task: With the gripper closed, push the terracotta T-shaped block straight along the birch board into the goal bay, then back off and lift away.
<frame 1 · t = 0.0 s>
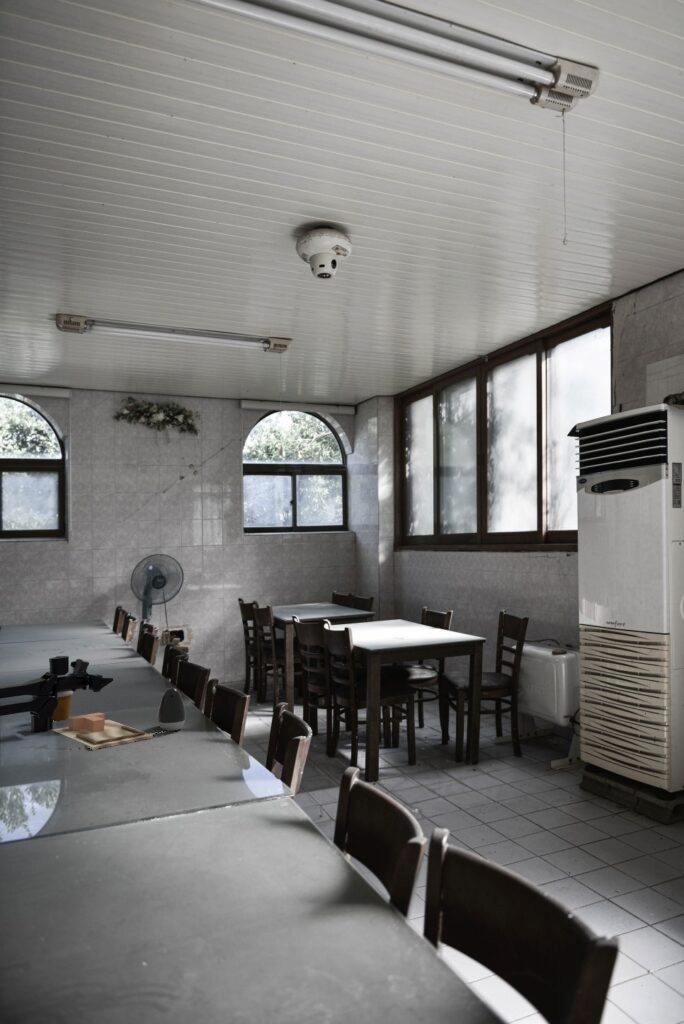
hand: (107, 678, 282), 17 cm above the table, tool horizontal, fingers open, 9 cm apart
t block: (91, 728, 265), point 1 cm above the table, touching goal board
grey egg-shaped pod: (171, 730, 267), on the table
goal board: (101, 735, 260), on the table
disposable coffee cup: (59, 721, 284), on the table
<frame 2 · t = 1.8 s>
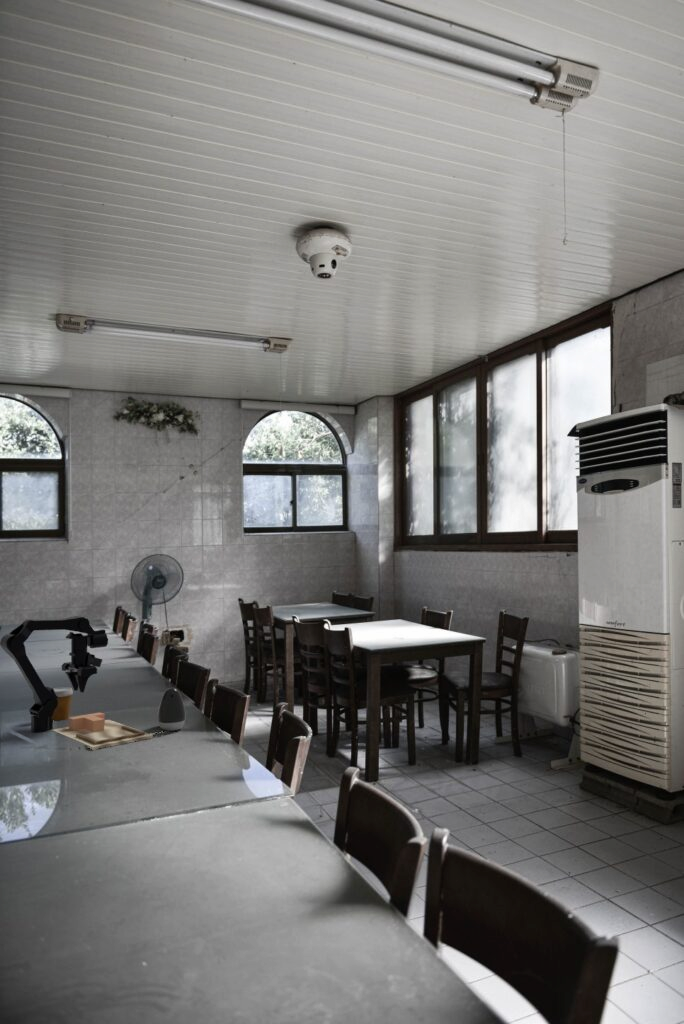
hand: (79, 691, 274), 13 cm above the table, tool pointing down, fingers open, 5 cm apart
nothing on the table moved.
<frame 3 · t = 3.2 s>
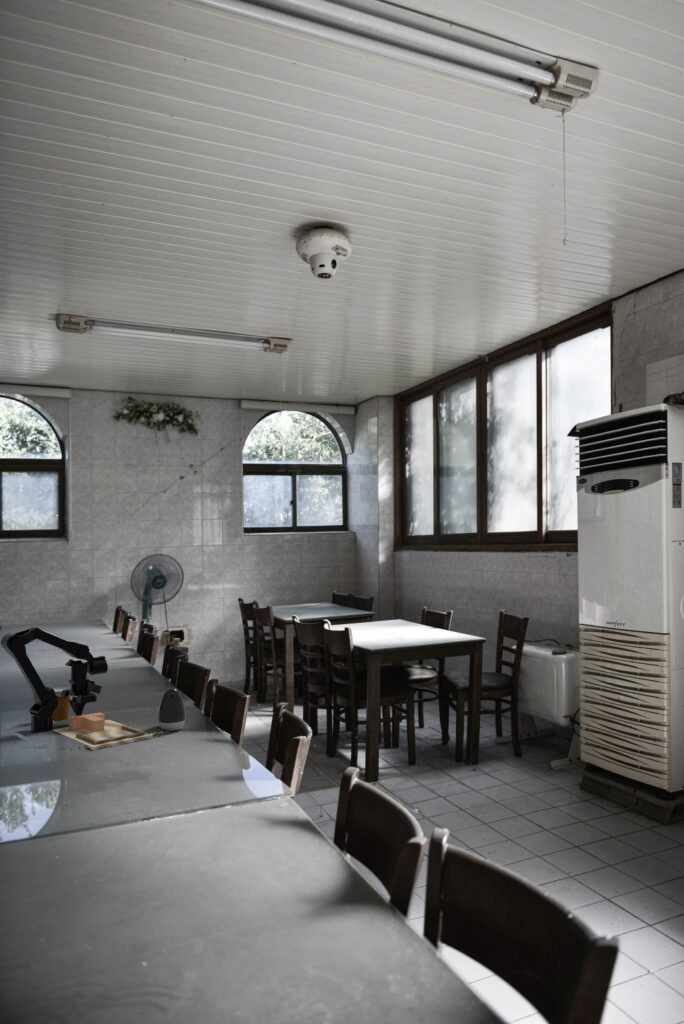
hand: (78, 718, 273), 3 cm above the table, tool pointing down, fingers closed
nothing on the table moved.
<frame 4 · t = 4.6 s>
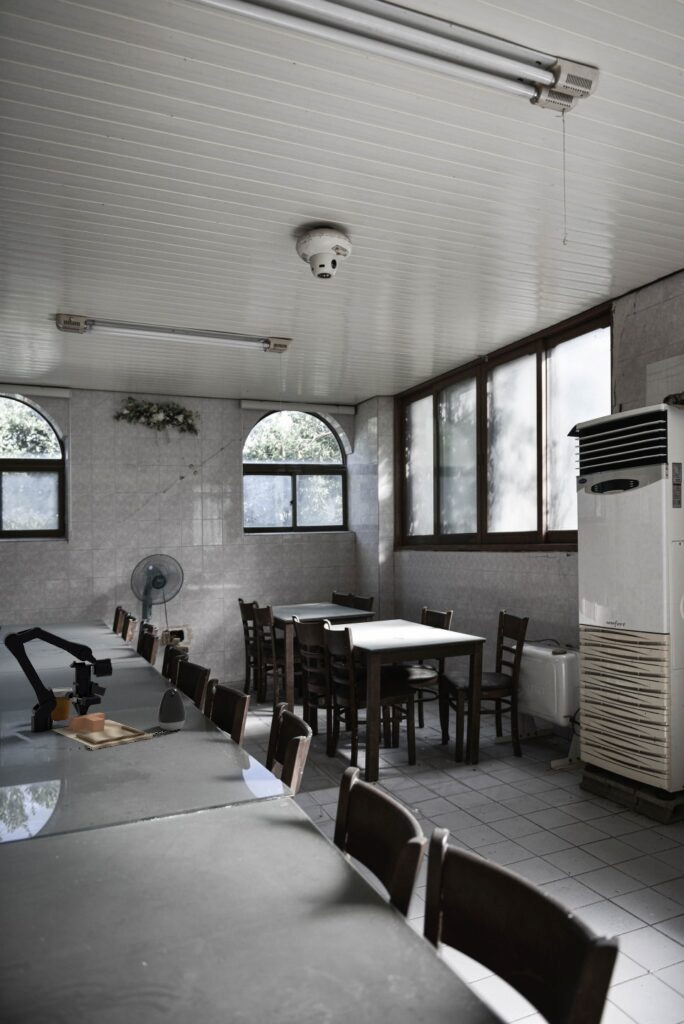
hand: (82, 721, 271), 3 cm above the table, tool pointing down, fingers closed
t block: (91, 728, 265), point 1 cm above the table, touching gripper
everything else where it was.
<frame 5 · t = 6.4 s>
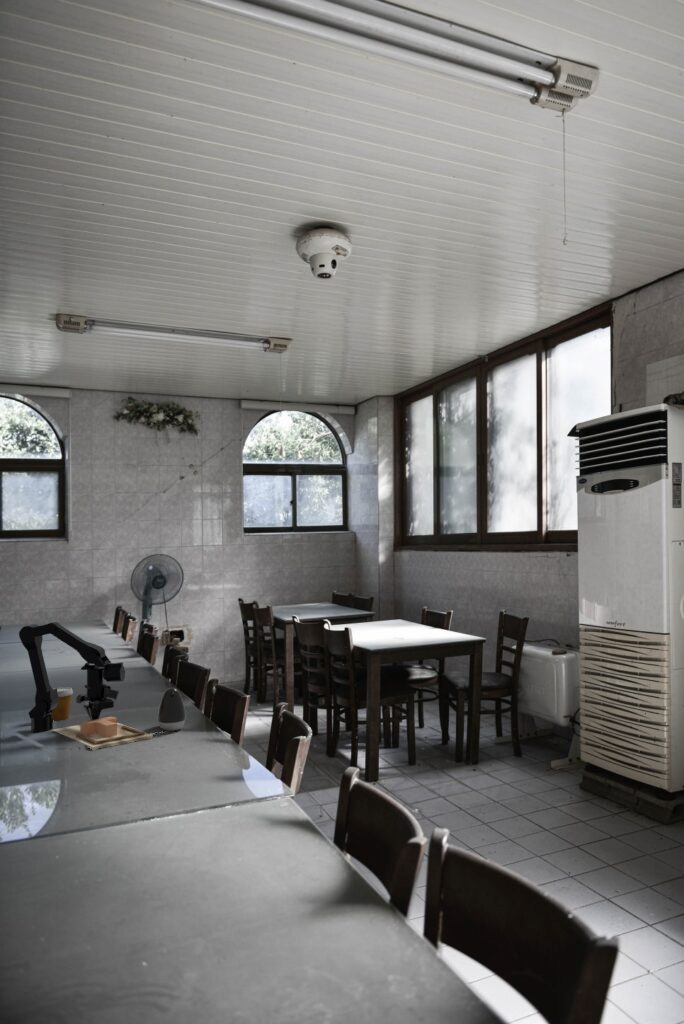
hand: (94, 725, 264), 3 cm above the table, tool pointing down, fingers closed
t block: (104, 733, 258), point 1 cm above the table, touching gripper
everything else where it was.
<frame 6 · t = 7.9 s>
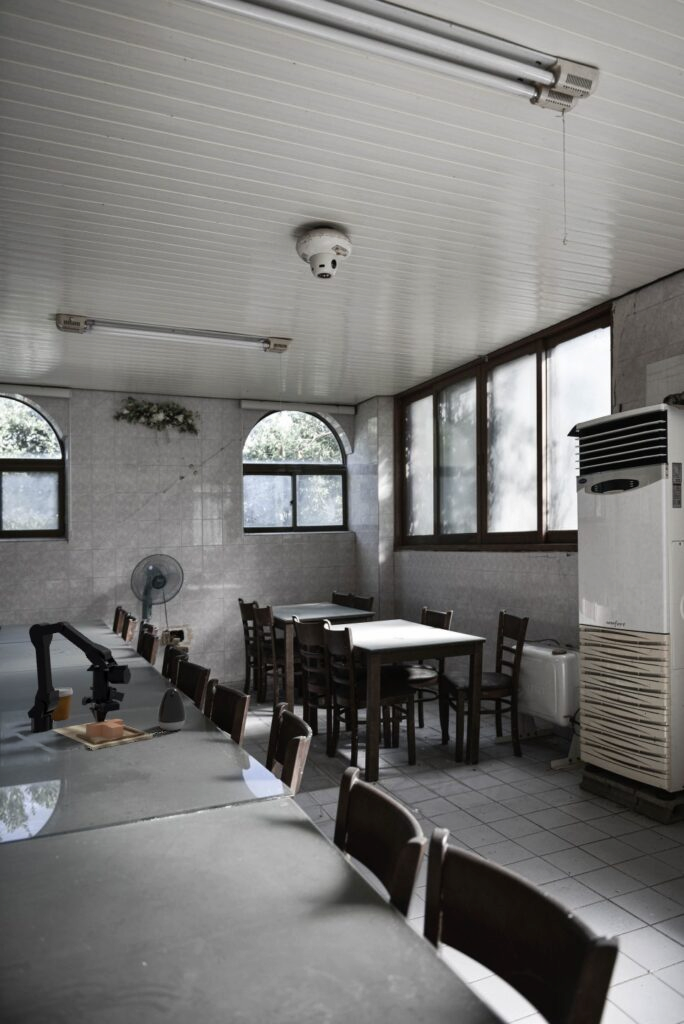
hand: (100, 727, 260), 3 cm above the table, tool pointing down, fingers closed
t block: (109, 735, 255), point 1 cm above the table, touching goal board, gripper
everything else where it was.
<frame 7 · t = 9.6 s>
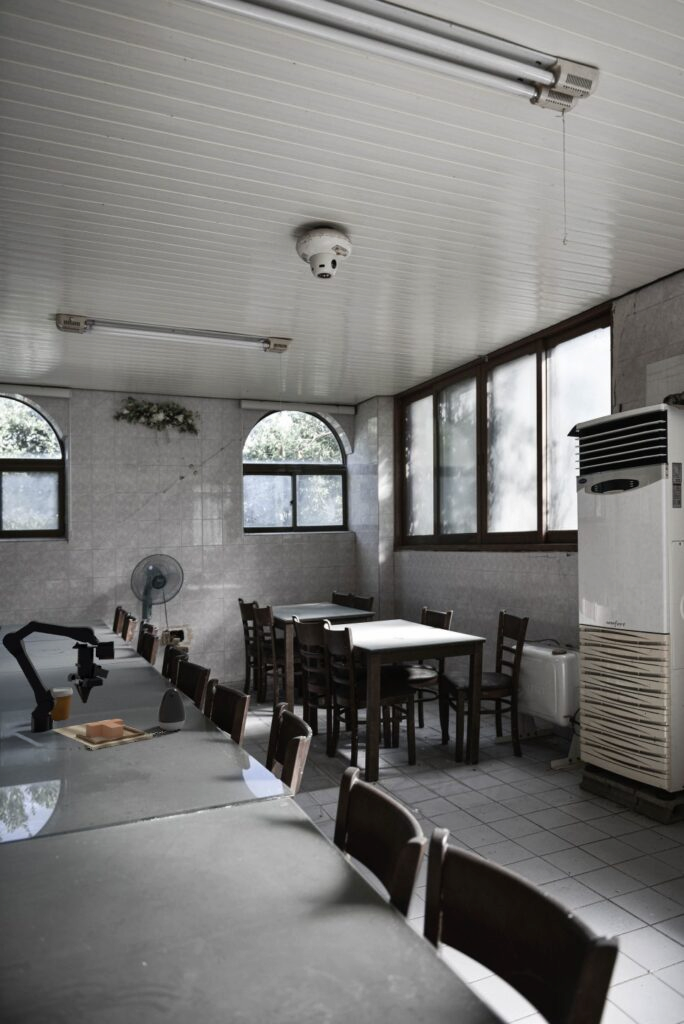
hand: (84, 703, 268), 10 cm above the table, tool pointing down, fingers closed
t block: (109, 735, 255), point 1 cm above the table, touching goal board
everything else where it was.
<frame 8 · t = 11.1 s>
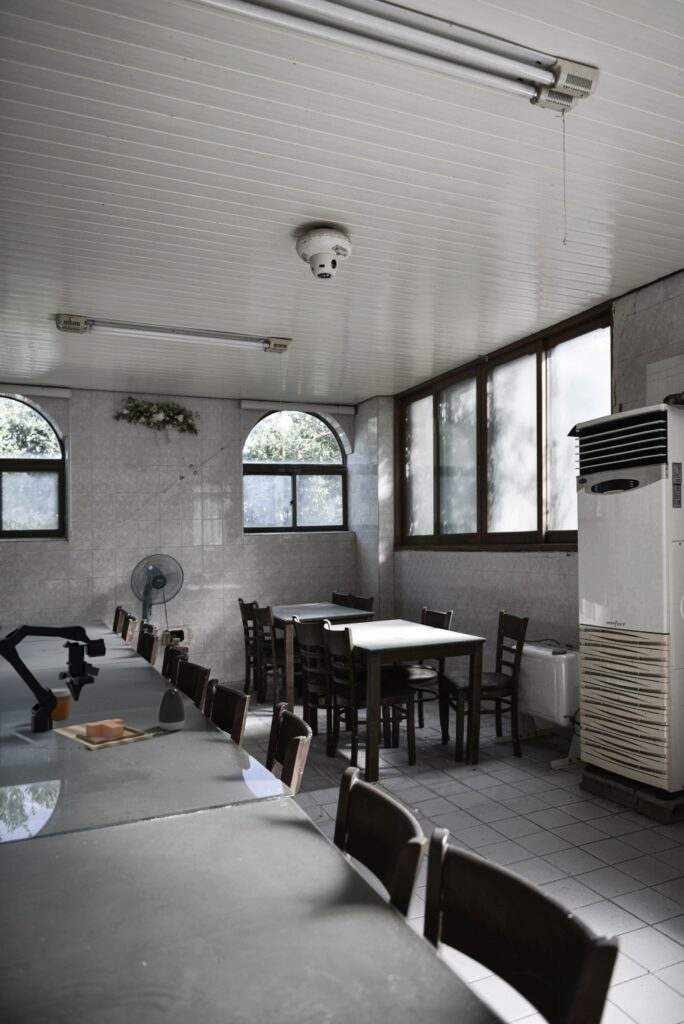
hand: (76, 701, 271), 10 cm above the table, tool pointing down, fingers closed
nothing on the table moved.
at the end: t block 0.2 cm from the target spot on the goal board, point 1.0 cm above the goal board's base; t block tilted 0° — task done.
